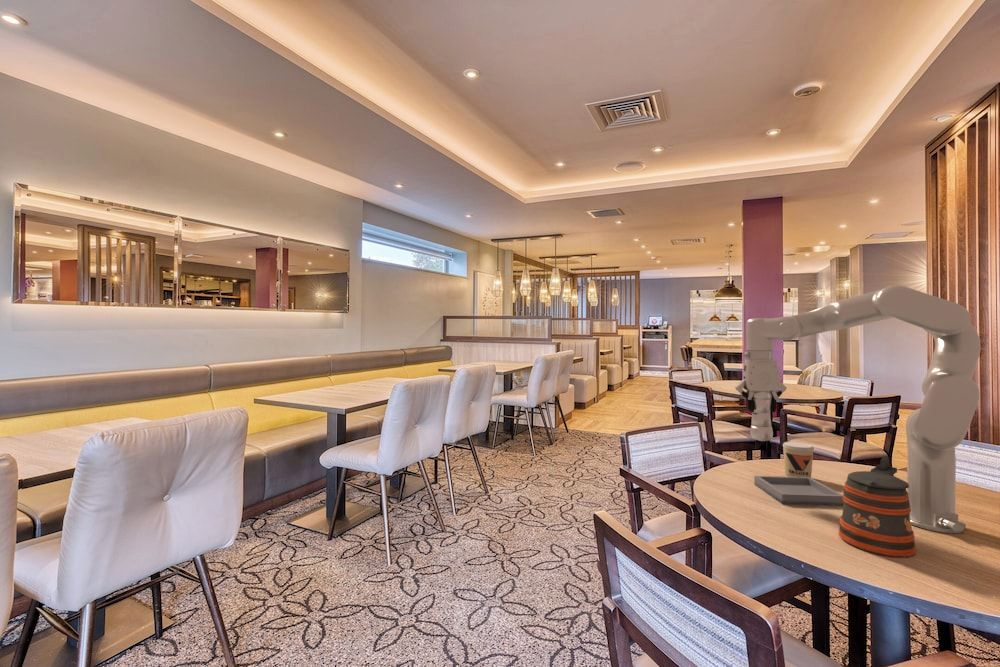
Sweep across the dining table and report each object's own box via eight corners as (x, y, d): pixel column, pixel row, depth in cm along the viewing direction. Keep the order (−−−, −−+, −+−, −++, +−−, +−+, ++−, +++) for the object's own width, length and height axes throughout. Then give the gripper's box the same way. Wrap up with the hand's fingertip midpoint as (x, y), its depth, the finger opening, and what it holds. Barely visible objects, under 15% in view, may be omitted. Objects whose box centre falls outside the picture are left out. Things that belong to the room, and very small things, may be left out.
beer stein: (847, 520, 125) (847, 449, 125) (919, 538, 114) (919, 459, 114) (833, 542, 112) (833, 462, 112) (912, 564, 101) (913, 476, 101)
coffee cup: (783, 479, 160) (783, 445, 160) (781, 472, 168) (781, 440, 168) (815, 483, 156) (815, 449, 156) (811, 476, 164) (811, 443, 164)
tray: (845, 506, 135) (845, 496, 135) (782, 504, 137) (782, 494, 137) (809, 486, 153) (809, 477, 153) (754, 484, 155) (754, 475, 155)
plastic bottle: (753, 442, 143) (751, 379, 144) (748, 437, 150) (746, 378, 150) (776, 443, 142) (774, 380, 142) (769, 438, 148) (768, 378, 148)
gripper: (737, 357, 143) (738, 413, 143) (794, 356, 142) (795, 413, 141) (727, 356, 151) (728, 409, 150) (781, 355, 149) (782, 409, 149)
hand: (761, 411), depth 146 cm, fingers closed on plastic bottle, 6 cm apart
